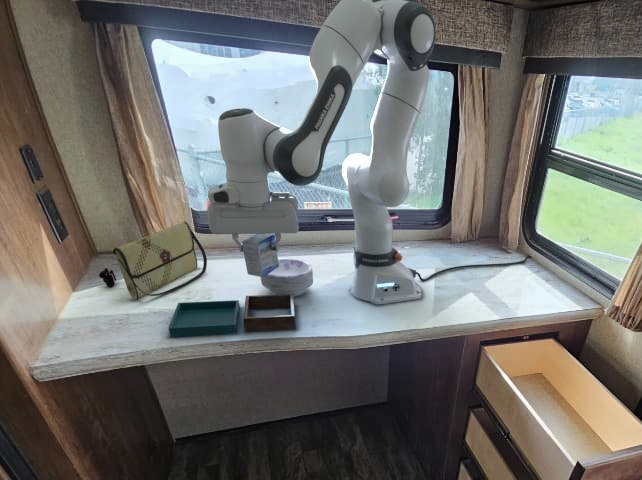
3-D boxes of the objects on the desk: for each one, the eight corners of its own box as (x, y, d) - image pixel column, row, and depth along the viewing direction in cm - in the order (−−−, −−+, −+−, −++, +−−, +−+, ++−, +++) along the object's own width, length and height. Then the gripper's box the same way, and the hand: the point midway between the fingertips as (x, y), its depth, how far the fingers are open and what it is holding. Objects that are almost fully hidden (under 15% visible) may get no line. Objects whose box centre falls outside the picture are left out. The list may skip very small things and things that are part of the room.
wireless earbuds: (110, 291, 124) (104, 274, 121) (100, 291, 123) (93, 274, 120) (118, 281, 129) (112, 264, 126) (108, 281, 128) (102, 264, 125)
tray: (240, 308, 122) (238, 300, 120) (236, 333, 111) (235, 324, 110) (180, 311, 118) (178, 302, 116) (171, 337, 107) (168, 328, 106)
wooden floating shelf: (294, 306, 126) (292, 293, 123) (296, 329, 116) (294, 316, 113) (248, 308, 122) (245, 295, 120) (245, 332, 112) (243, 318, 110)
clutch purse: (148, 306, 118) (130, 253, 109) (125, 302, 119) (106, 248, 110) (215, 268, 142) (205, 222, 133) (196, 265, 143) (184, 219, 134)
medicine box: (263, 278, 108) (257, 243, 102) (247, 274, 108) (240, 240, 103) (279, 267, 114) (275, 234, 109) (264, 264, 114) (259, 231, 109)
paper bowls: (310, 279, 142) (308, 256, 137) (317, 299, 130) (315, 275, 126) (261, 282, 137) (257, 258, 132) (264, 303, 125) (260, 278, 121)
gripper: (296, 189, 104) (301, 245, 113) (203, 187, 99) (216, 247, 107) (297, 195, 100) (303, 254, 108) (200, 194, 94) (214, 256, 102)
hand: (259, 250), depth 108 cm, fingers closed on medicine box, 6 cm apart
